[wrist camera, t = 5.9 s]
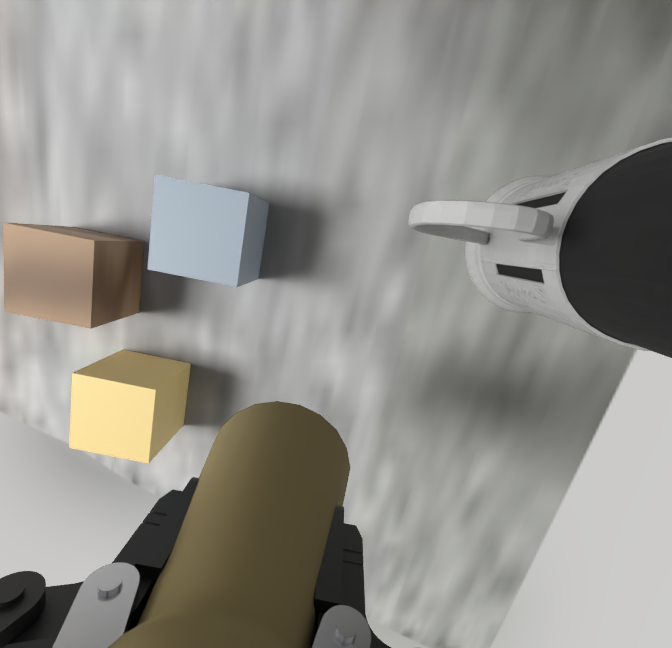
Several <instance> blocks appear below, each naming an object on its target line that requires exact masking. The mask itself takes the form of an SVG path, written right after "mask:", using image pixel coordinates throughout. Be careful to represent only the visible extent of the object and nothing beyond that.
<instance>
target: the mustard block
mask: <svg viewBox="0 0 672 648" xmlns="http://www.w3.org/2000/svg"><path fill="white" fill-rule="evenodd" d="M190 367H191V363H187V362H182V361H177V360H172V359H167V358H162V357H157V356H152V355H147V354H143V353H138V352H133V351H128V350H121V351H119V352H117V353H115V354H112V355H110V356H108V357H106V358H104V359H102V360H100V361H97V362H95V363H93V364H91V365H89V366H87V367H84V368H82V369H80V370H78V371H76V372H74V373H72V395H71V417H70V440H69V448H74V449H79V450H84V451H89V452H94V453H99V454H104V455H109V456H114V457H119V458H124V459H129V460H134V461H139V462H144V463H149V462H150V461H151V460H152V459H153V458H154V457H155V456H156V455H157V454H158V452H159V451H160V450H161V449H162V448H163V447H164V446H165V445H166V444H167V443H168V442H169V440H170V439H171V438H172V437H173V436H174V435H175V434H176V433H177V432H178V431H179V430H180V428H181V427H182V426H183V425H184V418H185V409H186V401H187V393H188V384H189V376H190Z"/></svg>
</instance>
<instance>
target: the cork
mask: <svg viewBox="0 0 672 648" xmlns="http://www.w3.org/2000/svg"><path fill="white" fill-rule="evenodd" d="M349 471H350V464H349V458H348V452H347V448H346V446H345V444H344V442H343V441H342V439H341V437H340V435H339V433H338V431H337V430H336V429H335V428H334V427H333V426H332V425H331V424H330V423H329V422H328V421H326V420H325V419H324V418H323V417H322V416H321V415H319V414H317V413H315V412H313V411H311V410H309V409H307V408H305V407H303V406H301V405H297V404H291V403H284V402H278V401H276V402H269V403H261V404H255V405H253V406H250V407H248V408H246V409H244V410H242V411H240V412H238V413H236V414H235V415H234V416H232V417H231V418H230V419H229V420H228V421H227V422H226V423H225V424H224V425H223V426H222V427H221V429H220V431H219V433H218V435H217V437H216V439H215V441H214V443H213V445H212V448H211V450H210V453H209V455H208V457H207V460H206V462H205V465H204V467H203V469H202V472H201V474H200V476H199V478H200V479H199V482H198V484H197V487H196V490H195V492H194V495H193V498H192V500H191V503H190V505H189V508H188V511H187V513H186V516H185V519H184V521H183V524H182V526H181V529H180V532H179V534H178V537H177V540H176V542H175V545H174V547H173V549H172V551H171V553H170V555H169V557H168V560H167V562H166V564H165V566H164V568H163V570H162V572H161V573H160V575H159V577H158V579H157V581H156V583H155V585H154V587H153V589H152V591H151V594H150V596H149V598H148V600H147V603H146V605H145V607H144V610H143V612H142V615H141V617H140V619H139V622H138V624H137V626H136V627H135V628H133V629H131V630H130V631H128V632H126V633H125V634H123V635H122V636H120V637H119V638H118V639H117V640H116V641H115V642H114V643H112V644H111V645H110V646H109V647H108V648H312V646H313V641H314V636H315V631H316V625H317V618H316V613H315V608H314V598H315V590H316V583H317V577H318V573H319V570H320V566H321V562H322V558H323V554H324V550H325V546H326V542H327V538H328V534H329V530H330V526H331V522H332V518H333V514H334V510H335V507H336V506H343V501H344V496H345V492H346V487H347V482H348V476H349Z"/></svg>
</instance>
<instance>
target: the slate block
mask: <svg viewBox="0 0 672 648" xmlns="http://www.w3.org/2000/svg"><path fill="white" fill-rule="evenodd" d="M269 204H270V203H268V202H266V201H264V200H262V199H260V198H258V197H256V196H254V195H252V194H250V193H247V192H242V191H237V190H232V189H227V188H222V187H217V186H212V185H207V184H202V183H197V182H192V181H187V180H182V179H177V178H172V177H167V176H162V175H156V174H155V178H154V191H153V204H152V217H151V230H150V243H149V256H148V270H153V271H158V272H163V273H168V274H173V275H178V276H184V277H189V278H194V279H199V280H204V281H209V282H214V283H219V284H224V285H229V286H235V287H238V286H241V285H243V284H246V283H249V282H251V281H254V280H257V279H259V273H260V266H261V259H262V252H263V245H264V238H265V231H266V225H267V218H268V211H269Z"/></svg>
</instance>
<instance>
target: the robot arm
mask: <svg viewBox="0 0 672 648" xmlns="http://www.w3.org/2000/svg"><path fill="white" fill-rule="evenodd" d="M199 479H200V478H195V477H193V478H191V480H190V481H189V483H188V484H187V486H186V487H185V489H184V490H183V492H182V491H177V490H172V491H170V492H169V493H167V494H166V495H164V496H163V497H161V498H160V499H159V500H158V502H157V503H156V504H155V506H154V507H153V508H152V510H151V511H150V513H149V514H148V515H147V517H146V518H145V519H144V521H143V523H142V524H141V525H140V526H139V527H138V529H137V530H136V531H135V533H134V534H133V535H132V537H131V538H130V540H129V541H128V542H127V544H126V545H125V546H124V548H123V549H122V550H121V552H120V553H119V554H118V556H117V557H116V558H115V560H114V561H113V562H112V564H108V565H105V566H103V567H101V568H99V569H97V570H96V571H94V572H93V573H92V574H90V575H89V576H88V577H87V578H86V580H85V581H83V582H80V583H75V584H68V585H60V586H51V587H46V583H45V579H44V577H43V576H42V575H41V574H39V573H37V572H32V571H23V572H17V573H13V574H10V575H7V576H5V577H3V578H1V579H0V648H108V647H109V646H110V645H111V644H112V643H114V642H115V641H116V640H117V639H118V638H119V637H120V636H122V635H123V634H125V633H126V632H128V631H130V630H131V629H133V628H135V627H136V626H137V624H138V622H139V619H140V617H141V615H142V612H143V610H144V607H145V605H146V603H147V600H148V598H149V596H150V594H151V591H152V589H153V587H154V585H155V583H156V581H157V579H158V577H159V575H160V573H161V572H162V570H163V568H164V566H165V564H166V562H167V560H168V557H169V555H170V553H171V551H172V549H173V547H174V545H175V542H176V540H177V537H178V534H179V532H180V529H181V526H182V524H183V521H184V519H185V516H186V513H187V511H188V508H189V505H190V503H191V500H192V498H193V495H194V492H195V490H196V487H197V484H198V482H199ZM314 608H315V613H316V618H317V625H316V631H315V636H314V641H313V646H312V648H391V647H389V646H387V645H386V644H384V643H383V642H382V641H381V640H379V639H378V638H377V636H376V635H375V634H374V633H373V631H372V630H371V628H370V626H369V624H368V622H367V619H366V614H365V596H364V570H363V543H362V537H361V535H360V533H359V531H358V529H357V527H356V526H355V525H350V524H345V523H344V507H342V506H336V507H335V510H334V514H333V518H332V522H331V526H330V530H329V534H328V538H327V542H326V546H325V550H324V554H323V558H322V562H321V566H320V570H319V573H318V577H317V583H316V590H315V598H314Z"/></svg>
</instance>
